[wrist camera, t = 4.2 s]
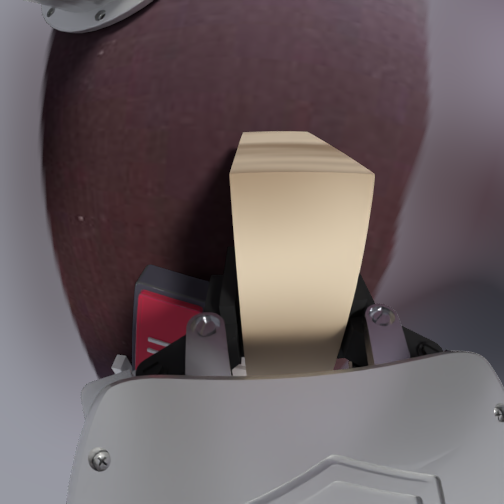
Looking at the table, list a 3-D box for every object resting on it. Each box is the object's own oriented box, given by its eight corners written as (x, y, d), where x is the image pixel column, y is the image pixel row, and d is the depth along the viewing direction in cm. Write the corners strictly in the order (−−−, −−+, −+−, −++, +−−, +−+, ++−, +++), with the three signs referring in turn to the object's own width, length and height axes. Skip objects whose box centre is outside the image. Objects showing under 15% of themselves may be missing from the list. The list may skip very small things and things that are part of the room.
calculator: (283, 328, 19) (230, 420, 25) (279, 293, 23) (231, 389, 29) (131, 286, 17) (130, 395, 24) (150, 257, 21) (140, 366, 28)
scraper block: (242, 132, 14) (229, 173, 6) (307, 131, 14) (375, 174, 6) (250, 293, 19) (249, 408, 12) (299, 291, 19) (320, 404, 12)
